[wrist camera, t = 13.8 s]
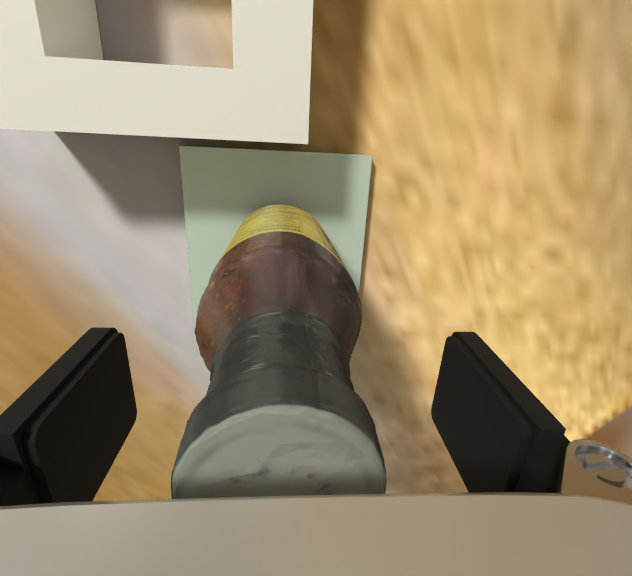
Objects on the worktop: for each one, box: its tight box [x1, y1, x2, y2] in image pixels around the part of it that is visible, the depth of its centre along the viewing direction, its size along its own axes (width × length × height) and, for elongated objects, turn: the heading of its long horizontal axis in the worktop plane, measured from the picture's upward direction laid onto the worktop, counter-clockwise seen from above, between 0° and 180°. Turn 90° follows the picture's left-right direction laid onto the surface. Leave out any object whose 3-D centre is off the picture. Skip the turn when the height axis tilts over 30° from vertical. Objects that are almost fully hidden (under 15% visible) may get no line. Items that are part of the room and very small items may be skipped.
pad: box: [179, 146, 372, 323], centre depth 26 cm, size 12×12×1 cm
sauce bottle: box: [171, 205, 386, 499], centre depth 16 cm, size 7×6×20 cm
